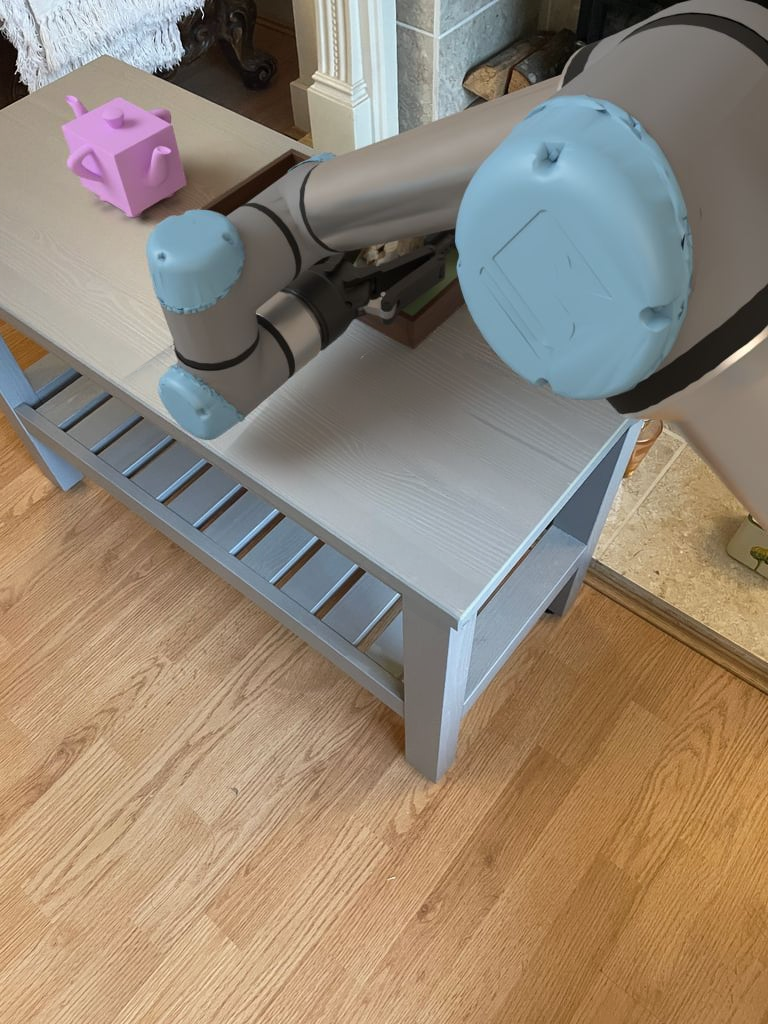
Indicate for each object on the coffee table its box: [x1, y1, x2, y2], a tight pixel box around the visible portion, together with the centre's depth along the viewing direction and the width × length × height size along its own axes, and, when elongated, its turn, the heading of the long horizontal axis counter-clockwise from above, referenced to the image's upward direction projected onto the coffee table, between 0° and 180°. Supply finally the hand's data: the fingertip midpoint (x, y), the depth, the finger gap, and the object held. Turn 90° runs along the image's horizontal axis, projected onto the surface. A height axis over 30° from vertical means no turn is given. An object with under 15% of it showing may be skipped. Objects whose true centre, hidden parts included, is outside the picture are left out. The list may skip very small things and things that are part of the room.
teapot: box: [61, 95, 187, 218], centre depth 100 cm, size 15×13×11 cm
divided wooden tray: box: [198, 148, 466, 350], centre depth 95 cm, size 32×17×4 cm, turn 51°
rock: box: [356, 234, 430, 293], centre depth 89 cm, size 12×7×10 cm, turn 136°
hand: (436, 209), depth 89 cm, fingers closed on rock, 6 cm apart
